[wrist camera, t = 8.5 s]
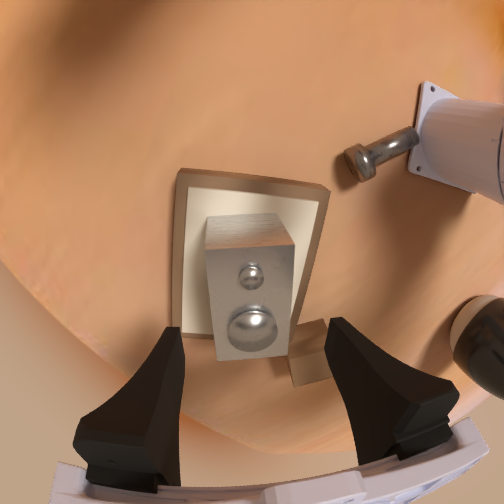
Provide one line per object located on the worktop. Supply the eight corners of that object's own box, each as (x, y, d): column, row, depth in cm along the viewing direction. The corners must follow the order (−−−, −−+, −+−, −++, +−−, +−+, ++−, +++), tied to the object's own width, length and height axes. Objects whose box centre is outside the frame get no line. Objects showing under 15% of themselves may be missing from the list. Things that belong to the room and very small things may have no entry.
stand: (321, 184, 21) (332, 192, 19) (287, 327, 26) (292, 344, 24) (181, 167, 19) (176, 174, 17) (174, 321, 25) (172, 338, 23)
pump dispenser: (429, 356, 32) (485, 441, 18) (451, 291, 28) (533, 380, 14) (478, 335, 33) (533, 403, 19) (500, 275, 28) (573, 342, 14)
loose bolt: (401, 120, 19) (419, 119, 17) (413, 150, 20) (431, 152, 18) (340, 148, 20) (353, 149, 18) (354, 180, 21) (368, 184, 18)
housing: (276, 212, 19) (297, 248, 14) (274, 309, 22) (289, 360, 17) (207, 216, 19) (204, 254, 14) (216, 313, 22) (217, 366, 17)
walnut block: (322, 318, 26) (336, 347, 23) (324, 347, 28) (336, 376, 25) (280, 328, 26) (289, 359, 23) (285, 357, 28) (294, 387, 25)
